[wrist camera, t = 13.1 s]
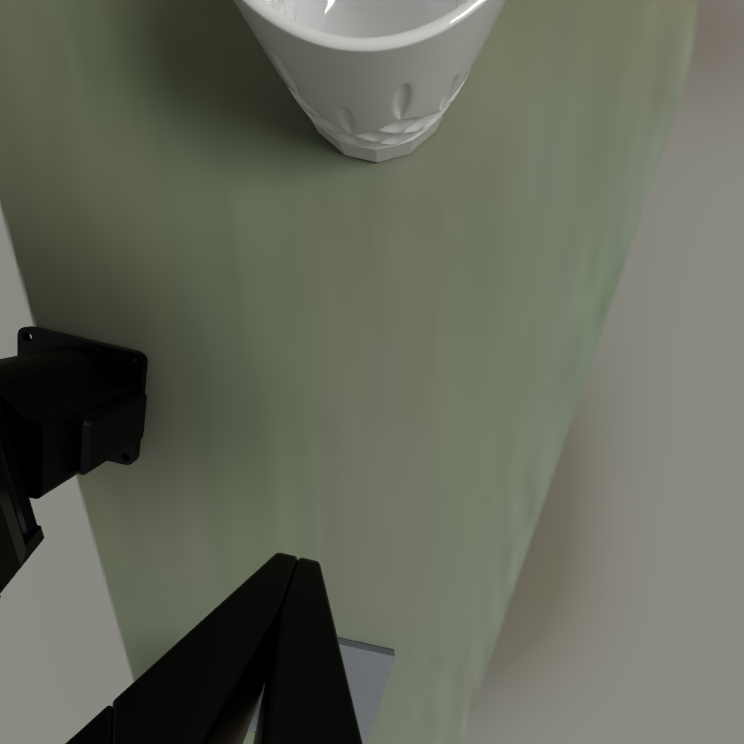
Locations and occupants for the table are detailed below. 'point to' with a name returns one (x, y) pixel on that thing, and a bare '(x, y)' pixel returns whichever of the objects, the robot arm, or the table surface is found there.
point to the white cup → (373, 64)
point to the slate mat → (360, 681)
